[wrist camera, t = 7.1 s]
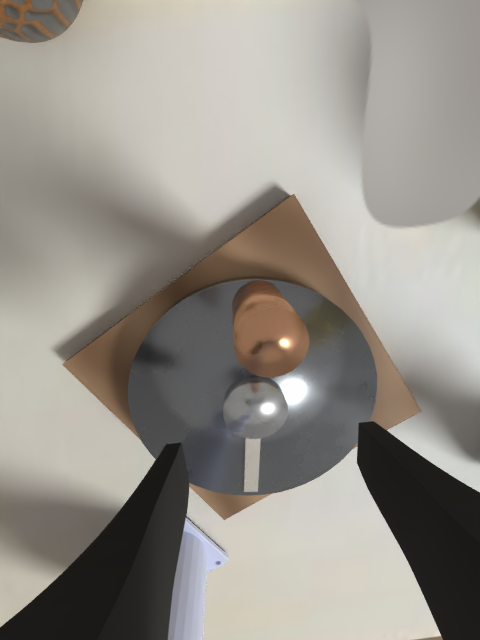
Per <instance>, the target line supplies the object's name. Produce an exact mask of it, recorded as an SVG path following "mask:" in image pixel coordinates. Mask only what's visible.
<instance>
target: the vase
mask: <svg viewBox="0 0 480 640" xmlns="http://www.w3.org/2000/svg"><path fill="white" fill-rule="evenodd" d="M82 3H83V0H0V37H3V38H6V39H10V40H13V41H18V42H28V43H38V42H44V41H48V40H51V39H53V38H55V37H57V36H59V35H60V34H62V33H63V32H64V31H66V30H67V29H68V28H69V27H70V25H71V24H72V23H73V21H74V20H75V18H76V17H77V15H78V13H79V11H80V8H81V6H82Z"/></svg>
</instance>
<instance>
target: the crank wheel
mask: <svg viewBox="0 0 480 640" xmlns="http://www.w3.org/2000/svg"><path fill="white" fill-rule="evenodd" d="M376 394H377V372H376V366H375V361H374V358H373V355H372V352H371V349H370V346H369V344H368V342H367V341H366V339H365V337H364V335H363V333H362V332H361V330H360V329H359V328H358V326H357V325H356V324H355V322H354V321H353V320H352V319H351V318H350V317H349V316H348V315H347V314H346V313H345V312H344V311H343V310H342V309H341V308H339V307H338V306H337V305H335V304H334V303H333V302H331V301H330V300H329V299H327V298H326V297H324V296H323V295H322V294H320V293H318V292H316V291H314V290H312V289H310V288H308V287H306V286H303V285H301V284H298V283H295V282H292V281H288V280H284V279H279V278H273V277H261V276H253V277H238V278H233V279H227V280H222V281H219V282H216V283H213V284H210V285H207V286H204V287H202V288H200V289H198V290H196V291H194V292H192V293H190V294H188V295H187V296H185V297H184V298H182V299H181V300H179V301H178V302H176V303H175V304H174V305H173V306H172V307H170V308H169V309H168V310H167V311H166V312H165V313H164V314H163V315H162V316H161V317H160V318H159V319H158V321H157V322H156V323H155V324H154V325H153V327H152V328H151V329H150V331H149V332H148V334H147V335H146V337H145V338H144V340H143V342H142V343H141V345H140V346H139V349H138V351H137V353H136V355H135V358H134V360H133V363H132V367H131V371H130V374H129V383H128V404H129V409H130V414H131V418H132V421H133V424H134V426H135V429H136V431H137V433H138V435H139V437H140V439H141V441H142V443H143V444H144V445H145V447H146V448H147V449H148V451H149V452H150V453H151V455H152V456H153V457H154V458H155V459H157V457H158V456H159V454H160V453H161V451H162V450H163V448H164V446H165V445H166V444H172V443H181V442H182V447H183V452H184V457H185V462H186V467H187V472H188V477H189V483H191V484H193V485H195V486H198V487H201V488H204V489H207V490H210V491H214V492H218V493H223V494H231V495H247V496H252V495H265V494H271V493H277V492H281V491H285V490H289V489H292V488H295V487H298V486H300V485H303V484H305V483H307V482H309V481H311V480H313V479H315V478H317V477H319V476H321V475H322V474H324V473H325V472H327V471H329V470H330V469H331V468H333V467H334V466H335V465H336V464H338V463H339V462H340V461H341V460H342V459H343V458H344V457H345V456H346V455H347V454H348V453H349V452H350V451H351V450H352V449H353V447H354V446H355V445H356V443H357V442H358V426H359V423H361V422H369V421H370V418H371V416H372V413H373V409H374V406H375V402H376Z"/></svg>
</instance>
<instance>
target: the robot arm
mask: <svg viewBox="0 0 480 640" xmlns="http://www.w3.org/2000/svg"><path fill="white" fill-rule="evenodd" d="M357 464H358V466H359V469H360V471H361V474H362V476H363V478H364V481H365V483H366V485H367V488H368V490H369V492H370V493H371V495H372V497H373V499H374V501H375V502H376V504H377V506H378V508H379V510H380V512H381V513H382V515H383V517H384V519H385V520H386V522H387V524H388V526H389V528H390V529H391V531H392V533H393V535H394V537H395V538H396V540H397V542H398V544H399V545H400V547H401V549H402V551H403V553H404V555H405V557H406V559H407V561H408V563H409V565H410V567H411V569H412V571H413V573H414V575H415V578H416V580H417V582H418V584H419V586H420V588H421V591H422V593H423V595H424V597H425V599H426V602H427V604H428V606H429V609H430V611H431V613H432V615H433V618H434V620H435V622H436V625H437V627H438V629H439V631H440V634H441V636H442V638H443V640H480V492H478V491H476V490H474V489H472V488H471V487H469V486H467V485H465V484H464V483H462V482H461V481H459V480H457V479H456V478H454V477H452V476H451V475H449V474H448V473H446V472H445V471H443V470H441V469H440V468H438V467H437V466H435V465H434V464H432V463H431V462H429V461H428V460H426V459H425V458H424V457H422V456H421V455H419V454H418V453H416V452H415V451H414V450H412V449H411V448H409V447H408V446H407V445H405V444H404V443H403V442H401V441H400V440H399V439H397V438H396V437H394V436H393V435H392V434H390V433H389V432H388V431H386V430H385V429H384V428H382V427H381V426H380V425H378V424H377V423H376V422H374V421H370V422H361V423H359V426H358V451H357ZM188 495H189V477H188V472H187V467H186V462H185V457H184V452H183V447H182V442H181V443H172V444H166V445H165V446H164V448H163V450H162V451H161V453H160V454H159V456H158V457H157V459H156V461H155V462H154V464H153V465H152V467H151V468H150V470H149V471H148V473H147V474H146V476H145V477H144V478H143V480H142V481H141V483H140V484H139V486H138V487H137V488H136V490H135V491H134V493H133V494H132V495H131V497H130V498H129V499H128V500H127V502H126V503H125V504H124V506H123V507H122V508H121V510H120V511H119V512H118V513H117V515H116V516H115V517H114V518H113V520H112V521H111V522H110V523H109V524H108V526H107V527H106V528H105V529H104V530H103V531H102V532H101V534H100V535H99V536H98V537H97V538H96V539H95V540H94V541H93V542H92V544H91V545H90V546H89V547H88V548H87V549H86V550H85V551H84V552H83V553H82V554H81V555H80V556H79V557H78V558H77V559H76V560H75V561H74V562H73V563H72V564H71V565H70V566H69V567H68V568H67V569H66V570H65V571H64V572H63V573H62V574H61V575H60V576H59V577H58V578H57V579H56V580H55V581H54V582H52V583H51V584H50V585H49V586H48V587H47V588H46V589H45V590H44V591H43V592H42V593H40V594H39V595H38V596H37V597H36V598H35V599H34V600H33V601H31V602H30V603H29V604H28V605H27V606H26V607H24V608H23V609H22V610H21V611H20V612H19V613H17V614H16V615H15V616H14V617H12V618H11V619H10V620H9V621H8V622H6V623H5V624H4V625H3V626H2V627H0V640H203V633H204V616H205V599H206V582H207V573H208V572H210V571H212V570H214V569H216V568H217V567H219V566H221V565H223V564H225V563H227V561H228V555H227V554H226V553H225V552H224V551H223V550H222V549H221V548H219V547H218V546H217V545H216V544H215V543H214V542H213V541H212V540H211V539H210V538H208V537H207V536H206V535H205V534H204V533H203V532H202V531H201V530H200V529H199V528H197V527H196V526H195V525H194V524H193V523H192V522H191V521H190V520H189V519H187V518H186V514H187V507H188Z"/></svg>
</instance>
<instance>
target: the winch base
mask: <svg viewBox="0 0 480 640" xmlns="http://www.w3.org/2000/svg"><path fill="white" fill-rule="evenodd" d="M253 276H261V277H273V278H279V279H284V280H288V281H292V282H295V283H298V284H301V285H303V286H306V287H308V288H310V289H312V290H314V291H316V292H318V293H320V294H322V295H323V296H324V297H326V298H327V299H329V300H330V301H331V302H333V303H334V304H335V305H337V306H338V307H339V308H341V309H342V310H343V311H344V312H345V313H346V314H347V315H348V316H349V317H350V318H351V319H352V320H353V321H354V322H355V324H356V325H357V326H358V328H359V329H360V330H361V332H362V333H363V335H364V337H365V339H366V341H367V342H368V344H369V346H370V349H371V352H372V355H373V358H374V361H375V366H376V372H377V394H376V402H375V406H374V409H373V413H372V416H371V418H370V421H374V422H376V423H377V424H378V425H380V426H381V427H382V428H384V429H385V430H388V429H390V428H392V427H393V426H395V425H397V424H399V423H401V422H402V421H404V420H406V419H408V418H410V417H411V416H413V415H415V414H417V413H419V412H421V410H420V408H419V406H418V404H417V403H416V401H415V399H414V398H413V396H412V394H411V393H410V391H409V389H408V387H407V386H406V384H405V382H404V381H403V379H402V377H401V375H400V374H399V372H398V370H397V369H396V367H395V365H394V364H393V362H392V360H391V358H390V357H389V355H388V353H387V352H386V350H385V348H384V346H383V345H382V343H381V341H380V340H379V338H378V336H377V335H376V333H375V331H374V329H373V328H372V326H371V324H370V323H369V321H368V319H367V317H366V316H365V314H364V312H363V311H362V309H361V307H360V306H359V304H358V302H357V300H356V299H355V297H354V295H353V294H352V292H351V290H350V288H349V287H348V285H347V283H346V282H345V280H344V278H343V277H342V275H341V273H340V271H339V270H338V268H337V266H336V265H335V263H334V261H333V259H332V258H331V256H330V254H329V253H328V251H327V249H326V247H325V246H324V244H323V242H322V241H321V239H320V237H319V236H318V234H317V232H316V230H315V229H314V227H313V225H312V224H311V222H310V220H309V218H308V217H307V215H306V213H305V212H304V210H303V208H302V207H301V205H300V203H299V201H298V200H297V198H296V196H295V195H294V194H293V195H290V196H289V197H288V198H286V199H285V200H284V201H282V202H281V203H280V204H278V205H277V206H275V207H274V208H273V209H271V210H270V211H269V212H267V213H266V214H265V215H263V216H262V217H261V218H259V219H258V220H256V221H255V222H254V223H252V224H251V225H250V226H248V227H247V228H246V229H244V230H243V231H242V232H240V233H239V234H237V235H236V236H235V237H233V238H232V239H231V240H229V241H228V242H227V243H225V244H224V245H223V246H221V247H220V248H219V249H217V250H216V251H214V252H213V253H212V254H210V255H209V256H208V257H206V258H205V259H204V260H202V261H201V262H200V263H198V264H197V265H195V266H194V267H193V268H191V269H190V270H189V271H187V272H186V273H185V274H183V275H182V276H181V277H179V278H178V279H176V280H175V281H174V282H172V283H171V284H170V285H168V286H167V287H166V288H164V289H163V290H162V291H160V292H159V293H157V294H156V295H155V296H153V297H152V298H151V299H149V300H148V301H147V302H145V303H144V304H143V305H141V306H140V307H138V308H137V309H136V310H134V311H133V312H132V313H130V314H129V315H128V316H126V317H125V318H124V319H122V320H121V321H120V322H118V323H117V324H115V325H114V326H113V327H111V328H110V329H109V330H107V331H106V332H105V333H103V334H102V335H101V336H99V337H98V338H96V339H95V340H94V341H92V342H91V343H90V344H88V345H87V346H86V347H84V348H83V349H82V350H80V351H79V352H77V353H76V354H75V355H73V356H72V357H71V358H69V359H68V360H67V361H66V362H65V363H64V364H63V366H64V367H65V368H66V369H67V370H69V371H70V372H71V373H72V374H73V375H74V376H75V377H76V378H77V379H78V380H79V381H80V382H81V383H82V384H83V385H84V386H85V387H86V388H87V389H88V390H89V391H90V392H91V393H92V394H94V395H95V396H96V397H97V398H98V399H99V400H100V401H101V402H102V403H103V404H104V405H105V406H106V407H107V408H108V409H109V410H110V411H111V412H112V413H113V414H114V415H115V416H116V417H118V418H119V419H120V420H121V421H122V422H123V423H124V424H125V425H126V426H127V427H128V428H129V429H130V430H131V431H132V432H133V433H134V434H135V435H136V436H137V437H138V438H139V439H140V437H139V435H138V433H137V431H136V429H135V426H134V424H133V421H132V418H131V414H130V409H129V404H128V383H129V374H130V371H131V367H132V363H133V360H134V358H135V355H136V353H137V351H138V349H139V346H140V345H141V343H142V342H143V340H144V338H145V337H146V335H147V334H148V332H149V331H150V329H151V328H152V327H153V325H154V324H155V323H156V322H157V321H158V319H159V318H160V317H161V316H162V315H163V314H164V313H165V312H166V311H167V310H168V309H169V308H170V307H172V306H173V305H174V304H175V303H176V302H178V301H179V300H181V299H182V298H184V297H185V296H187V295H188V294H190V293H192V292H194V291H196V290H198V289H200V288H202V287H204V286H207V285H210V284H213V283H216V282H219V281H222V280H227V279H233V278H238V277H253ZM370 421H369V422H370ZM140 440H141V439H140ZM357 446H358V442H357V443H356V445H355V446H354V447H353V449H354V448H355V447H357ZM189 487H190V488H192V489H193V490H194V491H195V492H196V493H197V494H198V495H199V496H200V497H201V498H202V499H203V500H204V501H205V502H206V503H207V504H208V505H209V506H210V507H211V508H212V509H213V510H214V511H215V512H217V513H218V514H219V515H220V516H221V517H222V518H223V519H224V520H225V519H227V518H229V517H231V516H232V515H234V514H236V513H238V512H240V511H241V510H243V509H245V508H247V507H249V506H250V505H252V504H254V503H256V502H258V501H259V500H261V499H263V498H265V497H267V496H269V495H270V494H265V495H252V496H247V495H231V494H223V493H218V492H214V491H210V490H207V489H204V488H201V487H198V486H195V485H193V484H191V483H189ZM271 494H272V493H271Z"/></svg>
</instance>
